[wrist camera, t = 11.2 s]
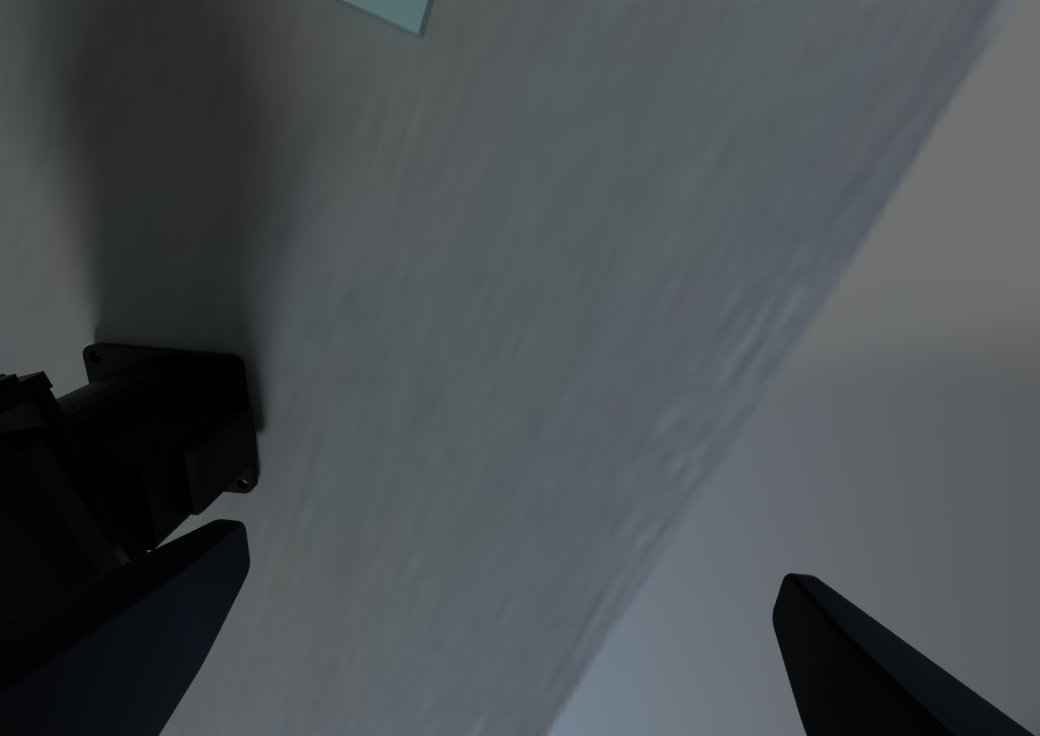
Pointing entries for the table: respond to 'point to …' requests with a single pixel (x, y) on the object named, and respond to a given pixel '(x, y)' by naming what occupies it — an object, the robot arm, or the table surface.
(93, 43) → the table surface
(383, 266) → the table surface
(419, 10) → the teal tile
